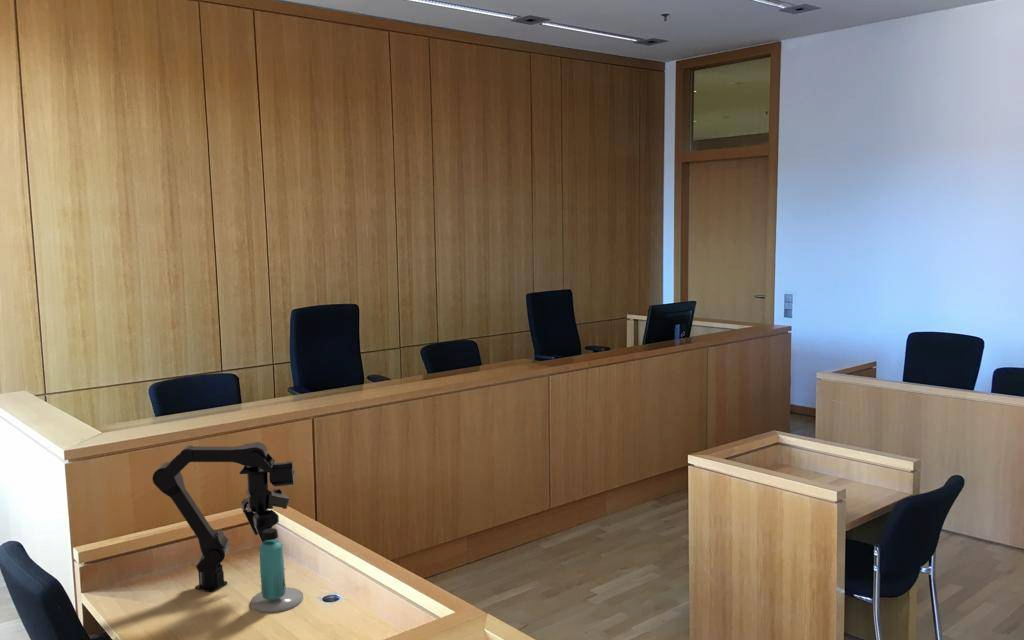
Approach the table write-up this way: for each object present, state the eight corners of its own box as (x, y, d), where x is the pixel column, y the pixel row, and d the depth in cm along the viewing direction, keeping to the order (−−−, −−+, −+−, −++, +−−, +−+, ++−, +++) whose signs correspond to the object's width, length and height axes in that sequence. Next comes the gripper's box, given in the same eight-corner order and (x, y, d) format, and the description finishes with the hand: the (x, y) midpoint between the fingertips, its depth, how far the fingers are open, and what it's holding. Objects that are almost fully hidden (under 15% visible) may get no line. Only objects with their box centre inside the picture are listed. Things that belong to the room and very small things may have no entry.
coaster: (239, 607, 226) (239, 604, 225) (274, 586, 238) (274, 583, 238) (280, 616, 220) (280, 613, 220) (313, 594, 232) (313, 592, 232)
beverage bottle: (287, 602, 226) (284, 532, 224) (262, 607, 224) (258, 535, 221) (284, 592, 232) (281, 524, 230) (260, 597, 230) (256, 527, 227)
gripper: (295, 490, 234) (298, 543, 236) (277, 474, 250) (279, 524, 252) (255, 498, 228) (258, 552, 230) (239, 480, 244) (242, 531, 246)
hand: (260, 539), depth 240 cm, fingers open, 9 cm apart
